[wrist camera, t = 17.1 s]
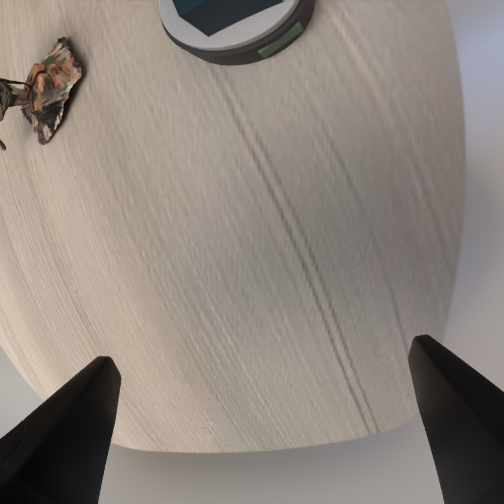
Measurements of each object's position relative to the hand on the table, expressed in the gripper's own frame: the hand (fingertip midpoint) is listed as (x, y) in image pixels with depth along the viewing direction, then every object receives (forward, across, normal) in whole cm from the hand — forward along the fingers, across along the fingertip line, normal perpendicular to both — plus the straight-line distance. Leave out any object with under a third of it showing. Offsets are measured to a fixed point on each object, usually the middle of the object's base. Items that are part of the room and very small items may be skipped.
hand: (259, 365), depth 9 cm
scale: (+14, 0, -13) cm, 19 cm away
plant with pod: (+19, +17, -10) cm, 28 cm away
